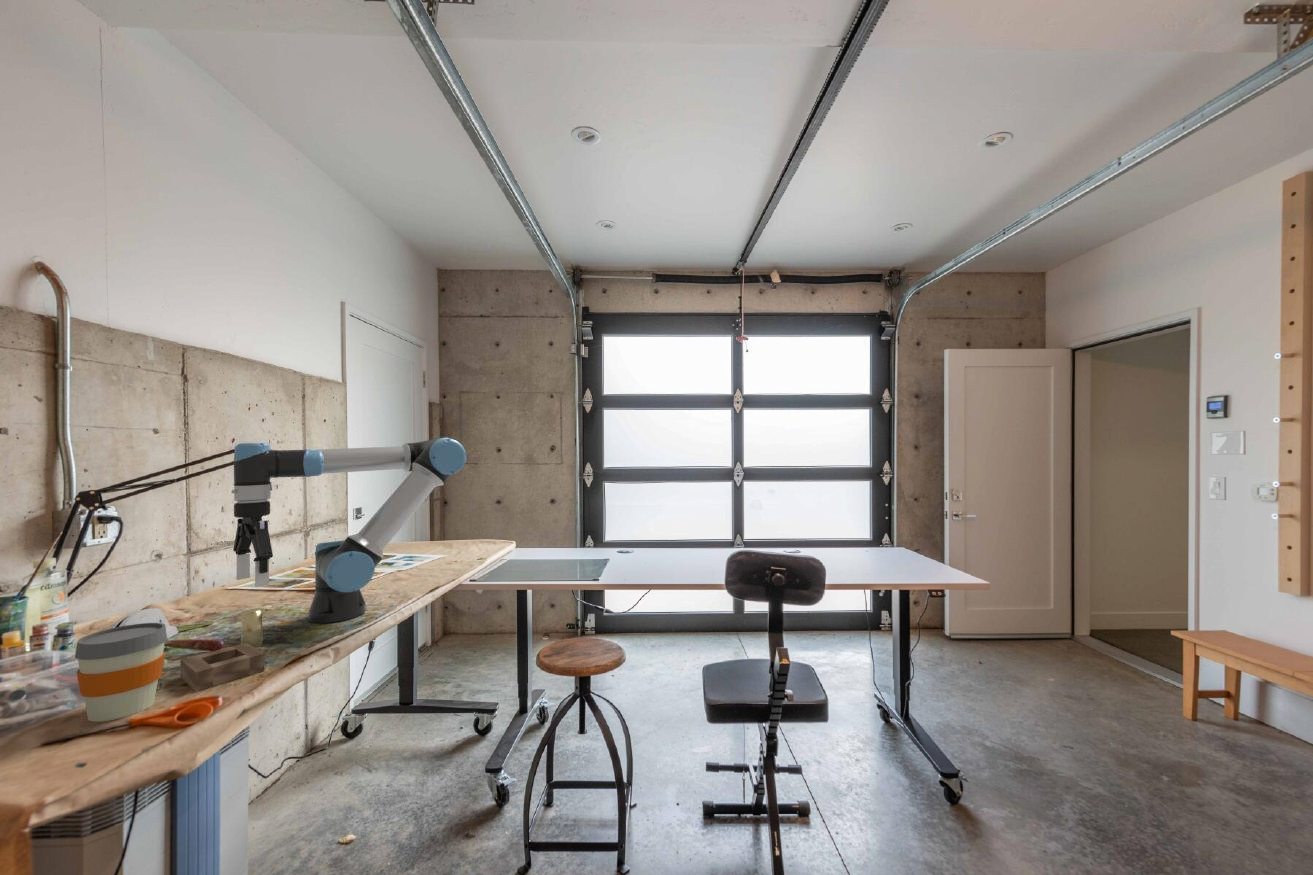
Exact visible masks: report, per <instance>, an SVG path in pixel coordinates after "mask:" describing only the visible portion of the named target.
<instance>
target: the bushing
mask: <svg viewBox="0 0 1313 875" xmlns="http://www.w3.org/2000/svg"><path fill="white" fill-rule="evenodd" d="M263 613H264V612H263V608H259V607H257V608H252V609H246V610H242V611H241V613H240V617H241V618H240V620H241V621H240V622H241V623H240V644H243V643H248V644H249V645H251V646H253V647H255V648H257V647H260V646H262V644H263V617H264V616H263Z"/></svg>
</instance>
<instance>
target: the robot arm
mask: <svg viewBox="0 0 1313 875" xmlns="http://www.w3.org/2000/svg"><path fill="white" fill-rule="evenodd" d="M466 462H467V453H466V449H465V448H464V446H463V444H462V443H460V442H459V441H458V440H455V439H453V438H449V437H441V438H434V439H433V438H432V439H427V440H423V441H417V442H405V443H403V444H402V445H401V446H400V445H399V446H379V447H378V446H377V447H352V448H349V447H348V448H324V449H323V448H321V449H285V450H284V449H283V450H277V449H272V448H271V445H270V443H268V442H241V443H238V444H236V445H235V446H234V454H233V483H234V484H233V487H234V488H233V489H232V490H231V493H232V494H233V500H234V501H235V503H234V504H233V516H234V518H237V520H236V521H237V525H236V526H237V528H236V532H235V537H234V542H233V544H234V545H233V547H232V548H233V552H234V553H235V555H236V580H237V581H238V580H239V581H240V580H245V579H246V580H247V579H249V578H250V579H251V553H252V549H250V548H251V545H252V547H253V550H254V554H255V555H254V556H255V557H254V559H253V562H254V587H255V588H258V587H264V586H268V585H270V559H272V558H273V556H274V554H273V549H272V542H271V539H270V538H271V537H270V532H269V521H268V520H263V517H264V516H269V515H270V514H271V502H270V501H269V500H270V499H271V494H272V493H271V490H272V489H271V479H272V478H274V479H278V478H305V477H306V478H310V477H318V476H321V475H322V474H323V475H324V474H338V473H341V474H342V473H356V472H368V471H369V472H370V471H371V472H373V471H375V472H376V471H386V470H387V471H389V470H403V471H404V472H410V473H409V474H408V475H407V477H406V478H405V479H404V480H403V481H402V482H401V483H400V485H398V486H397V488H396V489H395V490H394V491H393V493H391V495H390V496H389V497H388V498H387V499H386V501H385V502H383V504H382V506H380V508H378V510H376V512H375V514H374V515H372V517H370V519H369V520H368V521H367V522H366V523H365V525H364V526H363V527H362V528H361V529H360V531H359V532H357V533H356V534H352V535H348V536H347V537H346V538H345V539H344V540H335V541H326V542H320V543H317V544H316V545H315V551H314V555H315V562H314V563H315V567H314V568H315V571H314V572H315V578H314V580H315V582H314V586H315V587H314V589H315V590H314V596H313V599H312V601H311V604H310V605H309V608H308V613H307V620H308V622H310V623H315V624H316V623H317V624H324V623H325V624H326V623H336V622H342V621H345V620H346V621H347V620H350V619H354V618H357V617H359V616H362V615H363V614H365V612H366V609H367V608H366V607H367V605H366V601H365V598H364V596H363V594H362V591H361V590H362V589H363V588H364V587H365V586H367V585H368V584H369V583H370V582H371V581H372V579H373V577H374V574H375V571H376V570H375V569H376V567H377V566H378V565H379V564H380V562H381V561H382V560H383V559H384V550H385V548H386V547H387V546H388V545H389V543H390V542H391V541H392V539H393V538H394V537H396V535H397V534H398V533H399V531H400V530H401V529H402V528H403V526H404V525H405V524H406V523H407V521H409V520H410V518H411V517H412V516H413V515H414V513H415V512H416V511H417V510H418V508H419V507H420V506H421V504H423V502H424V501H425V500H426V499H427V498H428V496H429V495H431V493H432V492H433V490H434V489H435V488H437V487H441V486H444V485H445V483H447V481H448V480H449V479H450V477H452V475H455V474H457V473H458V472H460V471H461V470H462V469H463V468H464V466H465V464H466Z"/></svg>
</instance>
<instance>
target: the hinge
mask: <svg viewBox="0 0 1313 875" xmlns="http://www.w3.org/2000/svg"><path fill="white" fill-rule="evenodd" d="M141 623H163V624H165V626H166V634H167V638H168V639H170V638H172V637H174V636H175V635H177V634H178V633H179V631H178V628H177V627H176V626H173V625H170V623H169V621H168V618H166V616H165V614H164V612H163V611H162V609H161V608H159V607H153V608H152V607H150V608H147V609H142V610H138V611H136V612H132V613H130V614H128V615H126V616H124V617H123V618H121V619H119V620H118V621H116V622H115V623H114V624H113V625H111V626H110V628H109V629H111V628H116V627H121V626H127V625H133V624H141Z"/></svg>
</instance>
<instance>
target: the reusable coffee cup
mask: <svg viewBox="0 0 1313 875" xmlns="http://www.w3.org/2000/svg"><path fill="white" fill-rule="evenodd" d="M110 628H111V627H110ZM110 628H108V629H104V630H100V631H96V632H92V633H90V634H87V635H84V636H82V637H81V638H79V639H78V640H77V643H76V647H75V648H76V649H75V653H74V654H75V655H74V658H75V659H77V662H78V669H77V671H76V677H77V684H78V690H79V694H80V696H81V697H83V698H84V703H85V709H86V714H87V720H88V721H90V722H94V723H99V722H100V723H101V722H108V721H114V720H118V719H123V718H127V717H129V716H132V715H136V714H138V713H140V712H142V711H144V710H147V709H148V708H150V707H151V706H153V705H154V703H155V699H156V698H155V697H156V693H157V686H158V681H159V679H160V678H161V677H162V674H163V668H164V663H165V659H166V658H165V657H166V652H165V651H164V649H165V643H166V641H167V640H168V639H167V634H166V626H165V624H163V623H141V624H133V625H127V626H121V627H116V628H111V629H110Z"/></svg>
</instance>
